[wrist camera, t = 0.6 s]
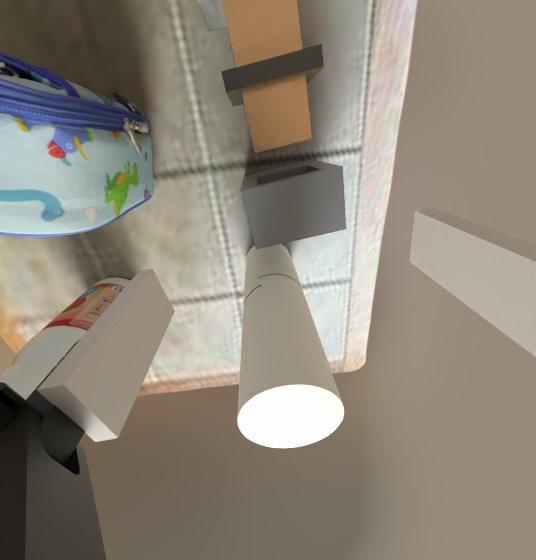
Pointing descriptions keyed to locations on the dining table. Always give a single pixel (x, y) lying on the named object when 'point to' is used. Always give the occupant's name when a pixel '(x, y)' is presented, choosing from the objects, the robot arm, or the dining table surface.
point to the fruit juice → (60, 337)
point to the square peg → (270, 70)
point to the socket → (294, 202)
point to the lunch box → (67, 154)
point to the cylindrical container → (282, 359)
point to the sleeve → (213, 13)
